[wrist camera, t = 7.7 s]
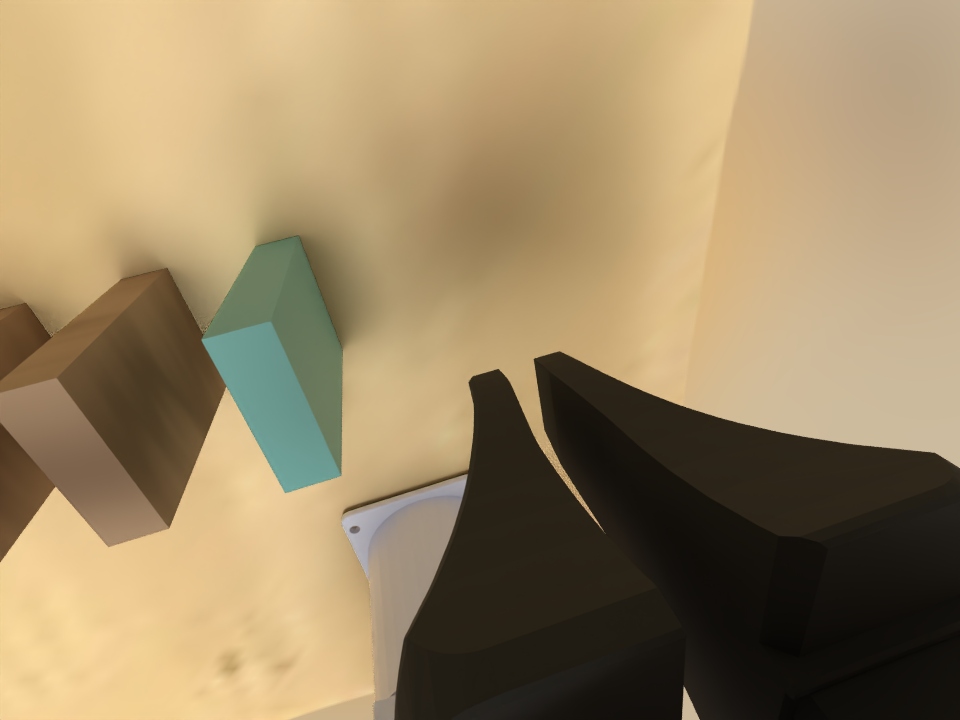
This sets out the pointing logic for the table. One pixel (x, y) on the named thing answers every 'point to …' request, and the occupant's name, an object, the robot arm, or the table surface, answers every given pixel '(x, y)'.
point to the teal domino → (282, 363)
